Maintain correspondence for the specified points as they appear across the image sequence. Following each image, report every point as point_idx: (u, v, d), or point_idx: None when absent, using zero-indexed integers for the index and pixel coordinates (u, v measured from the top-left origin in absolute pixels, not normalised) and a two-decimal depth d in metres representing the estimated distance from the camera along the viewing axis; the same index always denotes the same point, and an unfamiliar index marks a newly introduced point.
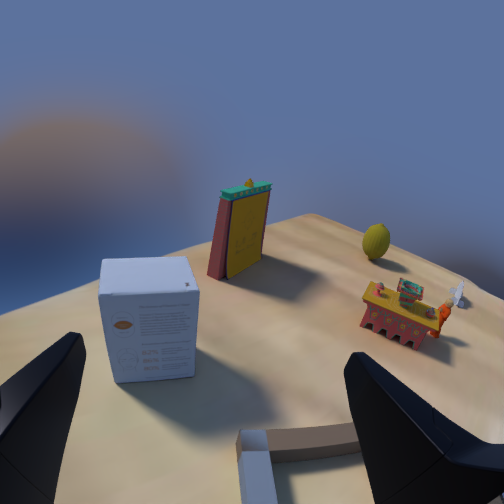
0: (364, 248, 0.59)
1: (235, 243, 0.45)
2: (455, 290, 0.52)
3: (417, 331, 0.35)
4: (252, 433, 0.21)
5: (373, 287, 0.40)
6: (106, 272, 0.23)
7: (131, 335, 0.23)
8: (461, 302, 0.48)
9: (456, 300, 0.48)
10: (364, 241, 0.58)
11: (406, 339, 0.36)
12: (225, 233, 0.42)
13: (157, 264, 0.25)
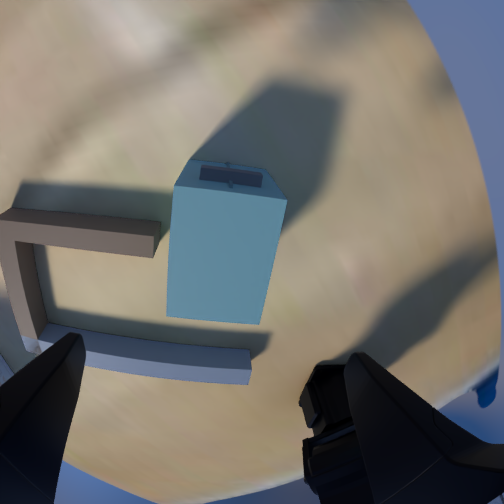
0: None
1: None
2: None
3: None
4: (26, 344, 0.21)
5: None
6: None
7: None
8: None
9: None
10: None
11: None
12: None
13: None
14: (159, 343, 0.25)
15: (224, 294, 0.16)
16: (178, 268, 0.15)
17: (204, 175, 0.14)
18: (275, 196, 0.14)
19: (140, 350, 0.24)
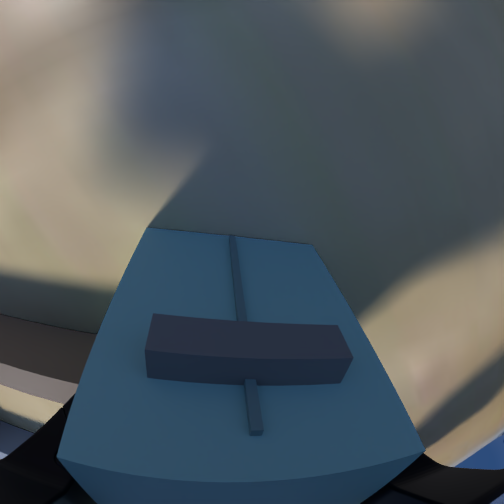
0: None
1: None
2: None
3: None
4: None
5: None
6: None
7: None
8: None
9: None
10: None
11: None
12: None
13: None
14: None
15: None
16: None
17: (161, 369, 0.04)
18: (393, 441, 0.04)
19: None
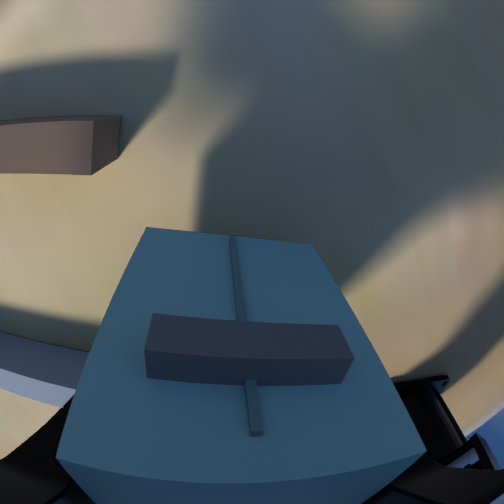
0: None
1: None
2: None
3: None
4: None
5: None
6: None
7: None
8: None
9: None
10: None
11: None
12: None
13: None
14: None
15: None
16: None
17: (161, 369, 0.04)
18: (394, 441, 0.03)
19: None
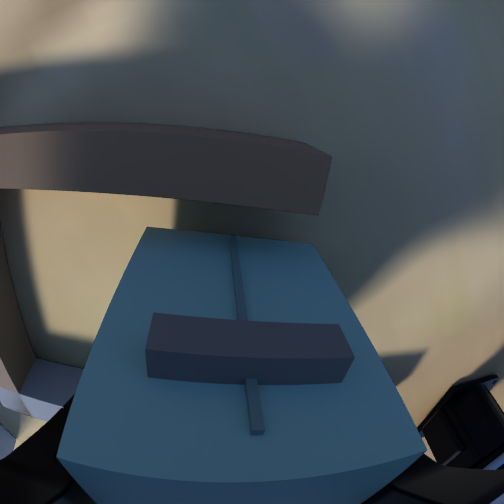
0: None
1: None
2: None
3: None
4: (1, 397, 0.10)
5: None
6: None
7: None
8: None
9: None
10: None
11: None
12: None
13: None
14: None
15: None
16: None
17: (162, 369, 0.04)
18: (395, 440, 0.03)
19: None
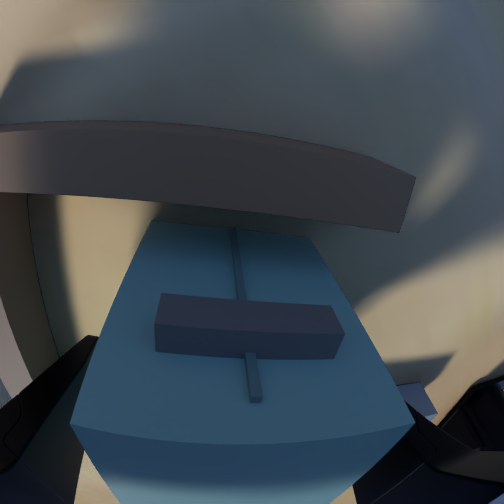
0: None
1: None
2: None
3: None
4: None
5: None
6: None
7: None
8: None
9: None
10: None
11: None
12: None
13: None
14: None
15: None
16: None
17: (169, 342, 0.04)
18: (384, 412, 0.04)
19: None
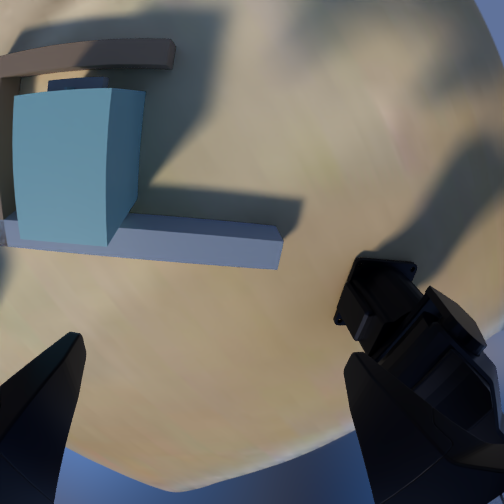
0: None
1: None
2: None
3: None
4: None
5: None
6: None
7: None
8: None
9: None
10: None
11: None
12: None
13: None
14: (158, 216, 0.20)
15: (64, 207, 0.12)
16: (21, 180, 0.11)
17: (51, 87, 0.11)
18: (103, 88, 0.10)
19: (133, 221, 0.18)
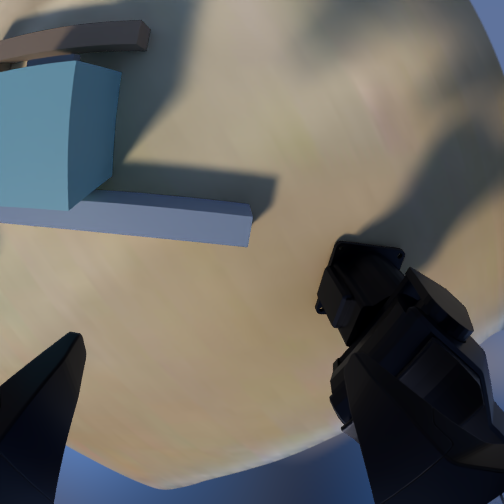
0: None
1: None
2: None
3: None
4: None
5: None
6: None
7: None
8: None
9: None
10: None
11: None
12: None
13: None
14: (131, 192, 0.19)
15: (32, 173, 0.11)
16: None
17: (29, 66, 0.10)
18: None
19: (106, 197, 0.18)
